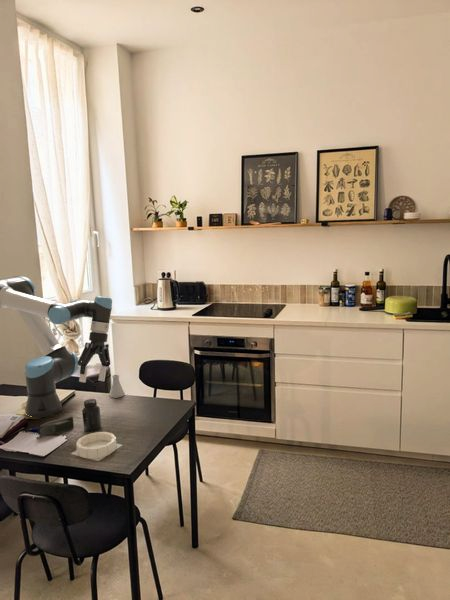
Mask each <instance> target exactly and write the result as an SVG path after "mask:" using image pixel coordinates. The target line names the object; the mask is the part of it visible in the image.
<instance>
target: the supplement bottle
mask: <svg viewBox="0 0 450 600" xmlns="http://www.w3.org/2000/svg"><path fill="white" fill-rule="evenodd" d="M97 402H98V401H97V399H94V398H89V399H86V400H84V401H83V408H82V410H81V414H82V421H83V431H84V432H86V433H96V432H99V431H100V430H102V419H101V408H100V407H99V405H98V403H97Z"/></svg>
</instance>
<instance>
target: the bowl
mask: <svg viewBox="0 0 450 600" xmlns="http://www.w3.org/2000/svg"><path fill="white" fill-rule="evenodd" d="M116 443H117V436H115V435H114V434H113V433H112V432H108V431H95V432H90V433H88V434H85V435H82V437H80V438H78V439H77V442H76V443H75V444H76V450H77V453H78V455H79V456H78V457H80V458H84V459H89V460H91V459H90V458H100V457H103V456H106V457H107V456H109V455H111V454H112V453H113V452H115V451H116V450H117V449H116ZM115 449H116V450H115Z"/></svg>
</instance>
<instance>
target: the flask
mask: <svg viewBox="0 0 450 600" xmlns="http://www.w3.org/2000/svg"><path fill="white" fill-rule="evenodd" d="M111 377H112V384H111V388H110V391H109V394H108V396H109V397H110V398H113V399H119V398H122V397H124V396H125V395H126V393H125V391H124V389H123V386H122V385H121V382H120V374H113V375H111Z"/></svg>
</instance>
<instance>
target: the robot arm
mask: <svg viewBox="0 0 450 600" xmlns="http://www.w3.org/2000/svg"><path fill="white" fill-rule="evenodd" d="M35 289H36V287H35V285H34V283H33V281H32V280H31V279H29V278H28V277H27V276H22V275H21V276H18V275H17V276H16V275H15V276H12V277H7V278H5V277H4V278H0V308H3V309H7V308H10V309H11V310H12V311H16V312H17V314H18V315H19V317H20V319H21V320H22V322H23V324H24V325H25V327H26V329H27V330H28V332H29V333H30V336H31V337H32V338H33V340H34V342H35V344H36V345H37V347H38V349H39V350H40V352H41V354H42V356H40V357H35V358H33V359H30V360H29V361H27V362H26V364H25V365H24V367H25V368H24V370H25V371H24V376H25V381H26V391H27V400H26V405H25V408H24V414H25V413H26V414H27V415H29V416H32V417H35V418H45V417H50V416H53V415H56V414H57V413H59V412H61V411H62V408H63V406H62V405H63V404H62V402H61V400H60V398H59V396H58V394H57V391H56V390H57V388H56V384H57V383H59V382H61V381H64V380H65V379H68V378H70V377H72V376H74V375H75V374H76V373H77V371H78V370H79V379H78V382H80V383H86V382H87V375H88V374H87V373H88V368H89V367H88V364H89V363H90V361H91V360H92V358H93V357H94V356H95V355H98V358H99V361H100V363H101V365H100V366H99V373H98V381H99V382H100V381H101V382H105V379H106V373H107V368H108V367H110V366H111V358H110V352H109V351H110V350H109V349H110V348H109V347H110V346H109V345H110V344H108V343H107V342H108V338H109V337H108V336H109V335H108V332H109V327H110V320H111V314H112V308H113V306H112V305H113V299H112V298H111V297H108V296H99V295H98V296H97V295H96V296H95V298H94V300H91V299H81V298H78V299H77V298H74V299H72V300H71V301H70V302H67V303H61V302H57V301H54V300H49V299H47V298H46V299H45V298H42V297H40V296H35V294H36V290H35ZM45 318H46V319H49V321H50V322H51V323H52V324H53V325H63V324H66V323H68V322H71V321H75V320H79V319H81V318H91V322H90V323H91V325H90V331H91V332H89V337H88V340H89V341H90V342H85V344H84V348H83V350H82V352H81V354H80V356H79V358H78V355H77V354H76V353H75V352H74V351H72V350H68V349H67V347H66V345H62V344H60V343H59V341H58V338H57V337H56V336H55V334H54V333H53V331H52V329H51V327H50V325H49V324H48V323H47V321H46V319H45ZM79 367H80V369H79ZM26 414H25V415H26ZM32 417H31V418H32ZM35 418H34V419H35Z"/></svg>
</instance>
